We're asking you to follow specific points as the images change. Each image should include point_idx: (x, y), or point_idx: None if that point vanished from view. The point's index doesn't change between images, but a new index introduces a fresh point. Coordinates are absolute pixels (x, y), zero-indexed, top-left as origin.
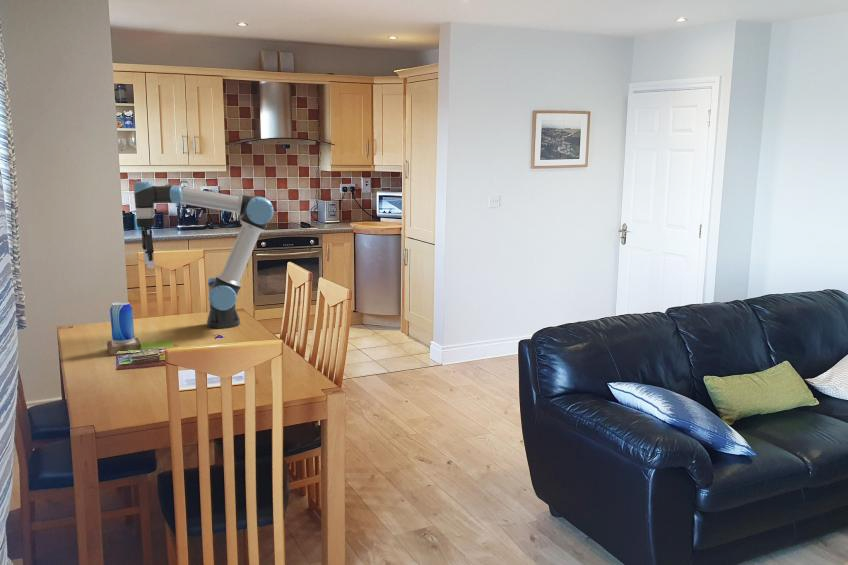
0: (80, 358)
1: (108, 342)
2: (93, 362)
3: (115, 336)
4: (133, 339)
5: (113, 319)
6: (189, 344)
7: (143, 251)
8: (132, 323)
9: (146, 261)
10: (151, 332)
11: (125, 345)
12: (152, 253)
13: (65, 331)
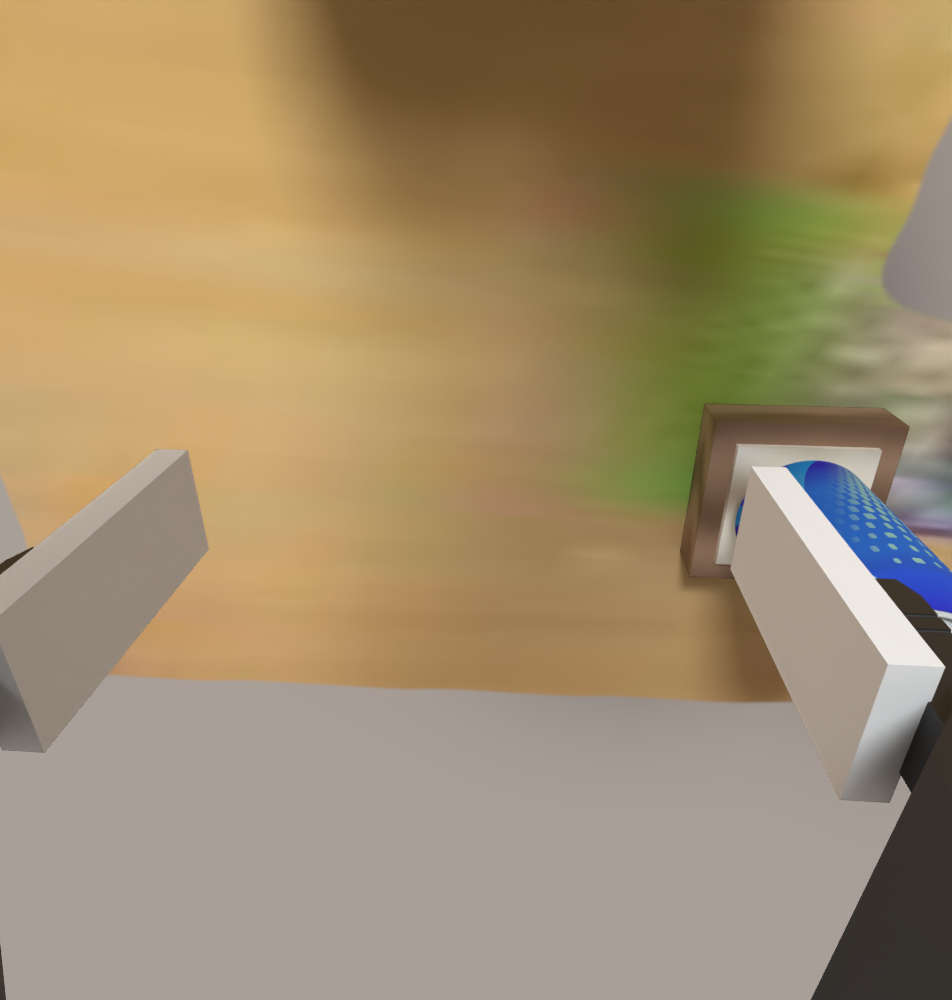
0: None
1: (730, 573)
2: None
3: None
4: (785, 456)
5: None
6: (910, 68)
7: (68, 717)
8: (892, 515)
9: (177, 539)
10: (376, 283)
11: None
12: (932, 678)
13: (172, 675)
